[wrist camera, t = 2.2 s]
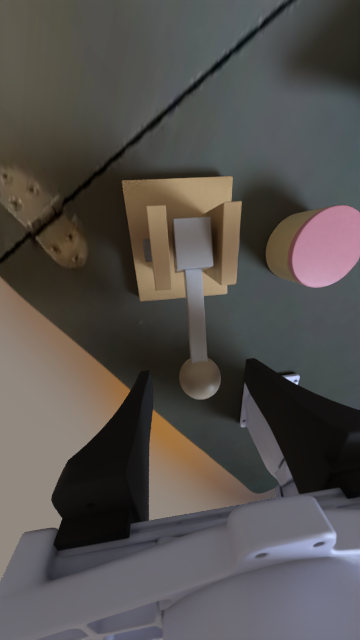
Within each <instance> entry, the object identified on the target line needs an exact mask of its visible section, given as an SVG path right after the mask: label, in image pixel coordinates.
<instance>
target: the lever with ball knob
mask: <svg viewBox="0 0 360 640" xmlns="http://www.w3.org/2000/svg"><path fill="white" fill-rule="evenodd" d="M171 233H172V245H173V257H174V269H175V273H181V272H184V285H185V298H186V311H187V324H188V337H189V350H190V359H188V360H187V361H186V362H185V363H184V364H183V366H182V367H181V370H180V374H179V380H180V384H181V387H182V389H183V390H184V392H185V393H186V394H187V395H189V396H190V397H192V398H195V399H207V398H209V397H211V396H212V395H214V394H215V393H216V392H217V390H218V388H219V386H220V382H221V375H220V371H219V368H218V367H217V365H216V364H215V363H214V362H213V361H212V360H211V359H209V358H207V344H206V328H205V312H204V295H203V279H202V271H205V270H207V269H208V268H210V267H212V266H213V253H212V233H211V217H195V218H177V219H173V224H172V232H171Z"/></svg>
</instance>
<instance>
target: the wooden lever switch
mask: <svg viewBox="0 0 360 640" xmlns="http://www.w3.org/2000/svg"><path fill="white" fill-rule="evenodd" d="M232 179H233V176H223V177H198V178H173V179H148V180H123V181H122V187H123V194H124V200H125V207H126V213H127V219H128V226H129V232H130V239H131V245H132V252H133V258H134V265H135V271H136V278H137V284H138V291H139V297H140V301H151V300H163V299H174V298H185V285H184V272H181V273H175V269H174V257H173V245H172V233H171V232H172V224H173V219H177V218H195V217H211V233H212V253H213V266H212V267H210V268H208V269H207V270H205V271H202V279H203V295H204V296H209V295H220V294H227V285H233V284H236V278H237V263H238V251H239V245H240V241H239V234H240V220H241V205H242V202H241V201H233V202H231V199H232Z"/></svg>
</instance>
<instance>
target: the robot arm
mask: <svg viewBox="0 0 360 640" xmlns="http://www.w3.org/2000/svg"><path fill="white" fill-rule="evenodd" d="M299 378H300V377H299V375H298V374H291V375H283V376H281V375H280V374H278V373H277V372H275V371H273V370H272V369H270V368H269V367H267V366H266V365H264V364H263V363H261V362H260V361H258V360H256V359H255V358H252V359H246V367H245V376H244V381H245V382H244V390H243V399H242V408H241V416H240V426H241V427H247V428H248V430H249V432H250V434H251V436H252V439H253V441H254V443H255V445H256V447H257V449H258V451H259V454H260V456H261V458H262V460H263V462H264V464H265V466H266V468H267V469H268V471H269V472H270V473H271V474H272V475H273V476H274V477H275V478H276V479H277V480H278V482H279V484H278V485H277V486H276V489H275V493H276V498H273V499H267V500H261V501H255V502H250V503H247V504H242V505H236V506H230V507H225V508H219V509H213V510H207V511H201V512H196V513H190V514H184V515H179V516H173V517H167V518H161V519H155V520H150V521H149V440H150V430H151V421H152V411H153V388H152V382H151V375H150V370H147V371H141V372H140V373H139V376H138V378H137V380H136V382H135V384H134V386H133V387H132V389H131V391H130V393H129V394H128V396H127V397H126V399H125V400H124V402H123V404H122V405H121V406H120V408H119V409H118V410H117V412H116V413H115V414H114V416H113V417H112V418H111V419H110V420H109V422H108V423H107V424H106V425H105V426H104V427H103V428H102V430H101V431H100V432H99V433H98V434H97V435H96V436H95V437H94V438H93V439H92V440H91V441H90V442H89V443H88V444H87V445H85V446H84V447H83V448H82V449H81V450H80V451H79V452H78V453H76V454H75V455H74V456H73V457H72V458H70V459H69V460H68V462H67V464H66V466H65V467H64V469H63V471H62V473H61V476H60V478H59V480H58V482H57V485H56V487H55V490H54V492H53V494H52V499H51V501H52V503H53V506H54V507H55V509H56V510H57V511H58V513H59V514H60V516H61V517H62V521H61V524H60V527H59V530H58V529H56V528H46V529H40V530H34V531H29V532H25V533H24V534H22V536H21V538H20V540H19V543H18V545H17V547H16V549H15V551H14V553H13V555H12V558H11V560H10V562H9V564H8V566H7V569H6V571H5V573H4V575H3V577H2V579H1V582H0V640H158V639H163V640H360V410H357V409H354V408H351V407H348V406H345V405H342V404H340V403H337V402H334V401H332V400H329V399H327V398H324V397H322V396H320V395H317V394H315V393H313V392H311V391H309V390H307V389H305V388H303V387H301V386H299V385H298V381H299Z"/></svg>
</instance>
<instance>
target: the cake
mask: <svg viewBox="0 0 360 640" xmlns="http://www.w3.org/2000/svg"><path fill="white" fill-rule="evenodd" d="M359 257H360V213H359V212H358V211H357V210H356V209H354V208H352V207H350V206H346V205H338V206H332V207H326V208H321V209H316V210H310V211H305V212H300V213H296V214H293V215H291V216H289V217H287V218H285V219H284V220H283V221H282V222H281V223H279V224H278V226H277V227H276V228H275V229H274V231H273V232H272V234H271V236H270V238H269V240H268V243H267V247H266V261H267V265H268V267H269V269H270V270H271V272H272V273H273V274H275V275H276V276H278V277H280V278H283V279H287V280H290V281H293V282H296V283H299V284H302V285H305V286H309V287H324V286H328V285H330V284H333V283H334V282H336V281H338V280H340V279H341V278H342V277H344V276H345V275H346V274H347V273H348V272H349V271H350V270H351V269H352V268H353V266H354V265H355V264H356V262H357V261H358V259H359Z"/></svg>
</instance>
